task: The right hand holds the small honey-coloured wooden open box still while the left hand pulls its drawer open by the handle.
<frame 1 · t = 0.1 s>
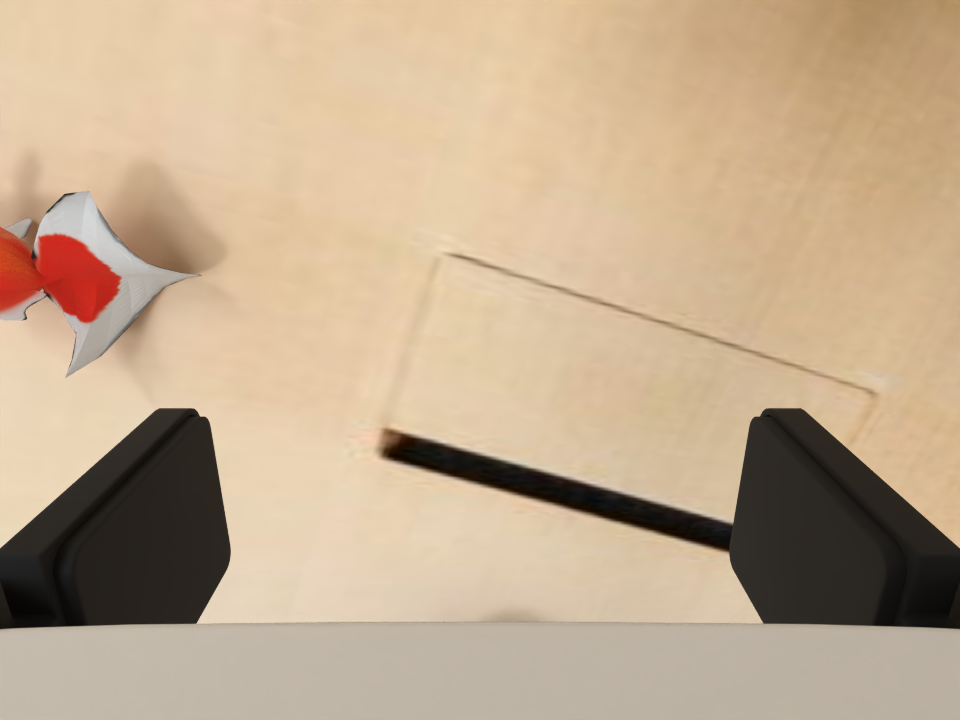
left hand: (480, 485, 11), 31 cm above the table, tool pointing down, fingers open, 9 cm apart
fish: (92, 252, 41), on the table
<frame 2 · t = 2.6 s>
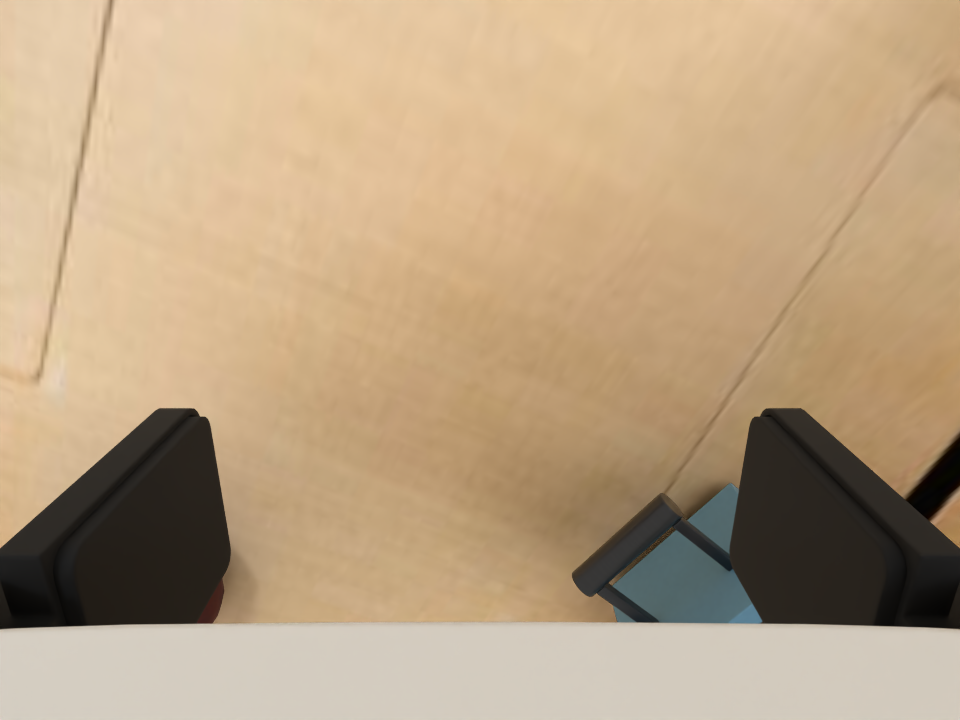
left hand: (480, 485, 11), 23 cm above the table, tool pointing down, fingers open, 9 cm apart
drawer: (751, 631, 35), point 5 cm above the table, slide at 1.1 cm
dark red ball: (180, 556, 39), on the table
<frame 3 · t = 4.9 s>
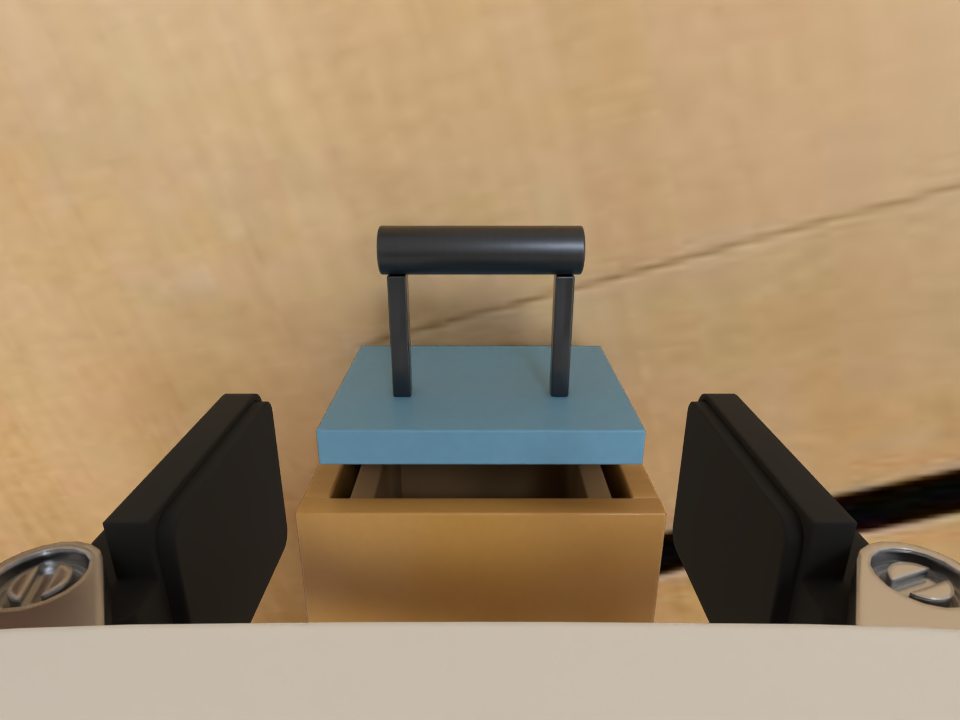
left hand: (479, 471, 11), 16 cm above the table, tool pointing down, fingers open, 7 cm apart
wooden open box: (480, 550, 31), on the table, touching right hand
drawer: (480, 505, 24), point 5 cm above the table, slide at 1.1 cm
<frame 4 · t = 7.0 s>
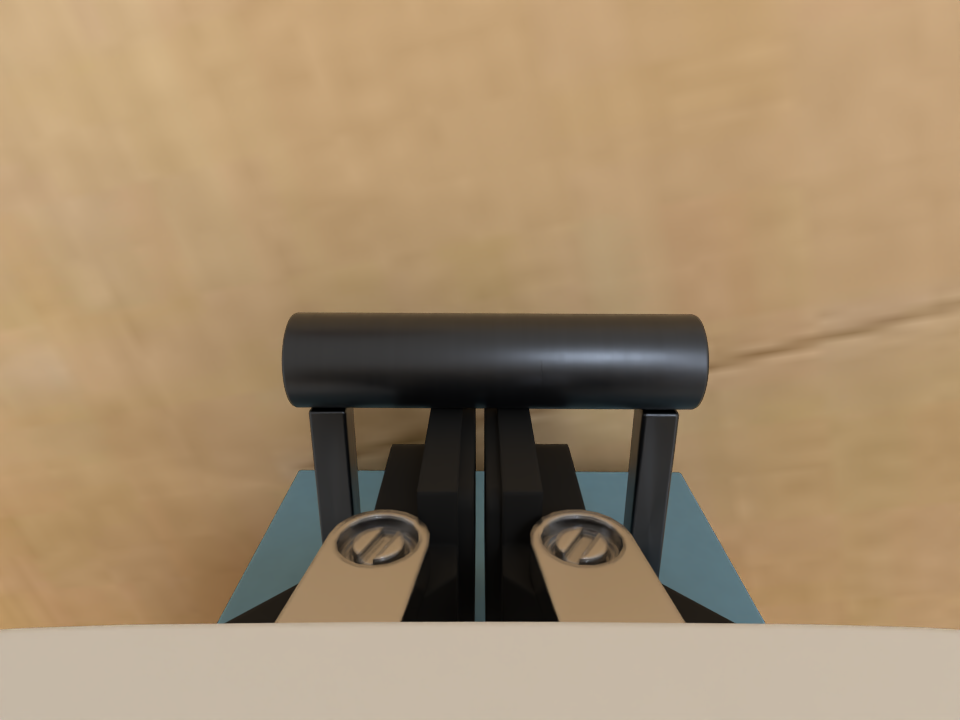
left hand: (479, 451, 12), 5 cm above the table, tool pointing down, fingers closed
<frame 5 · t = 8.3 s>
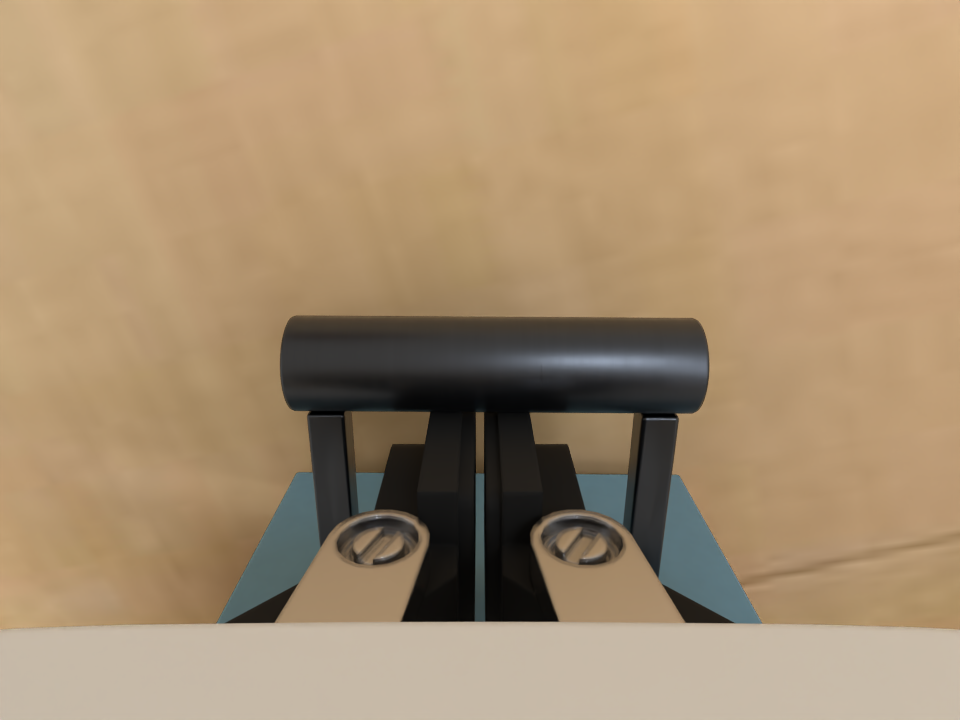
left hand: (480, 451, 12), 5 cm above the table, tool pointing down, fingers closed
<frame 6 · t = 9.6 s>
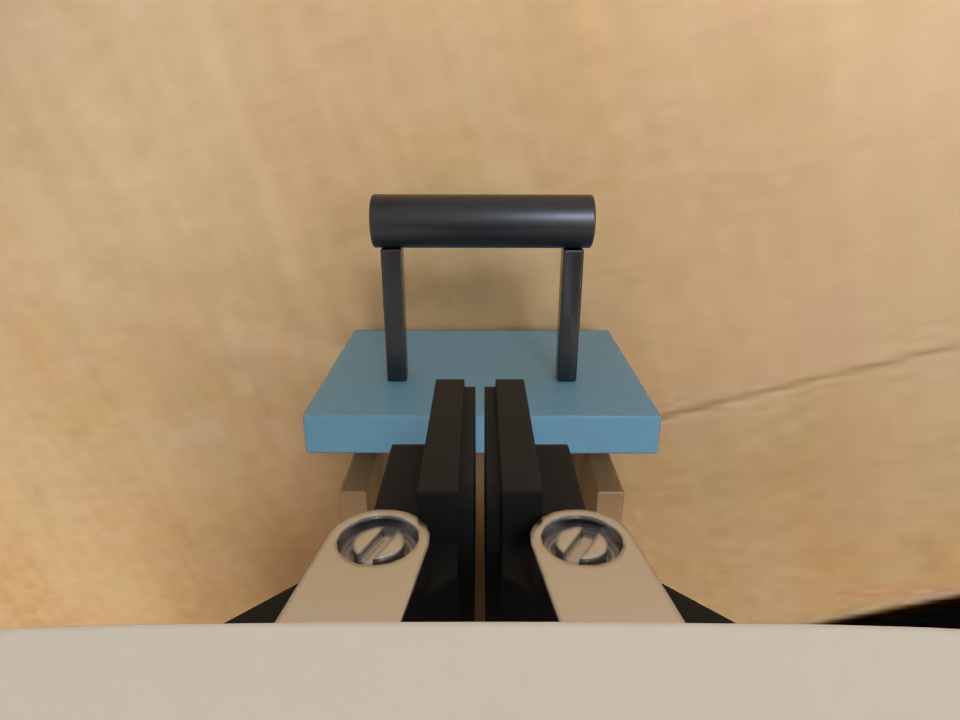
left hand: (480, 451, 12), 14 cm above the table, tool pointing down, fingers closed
drawer: (481, 499, 23), point 5 cm above the table, slide at 8.5 cm
when the right hand's fingers open (5 cm above the table, at t = 10.2 s): wooden open box stays where it is, on the table.
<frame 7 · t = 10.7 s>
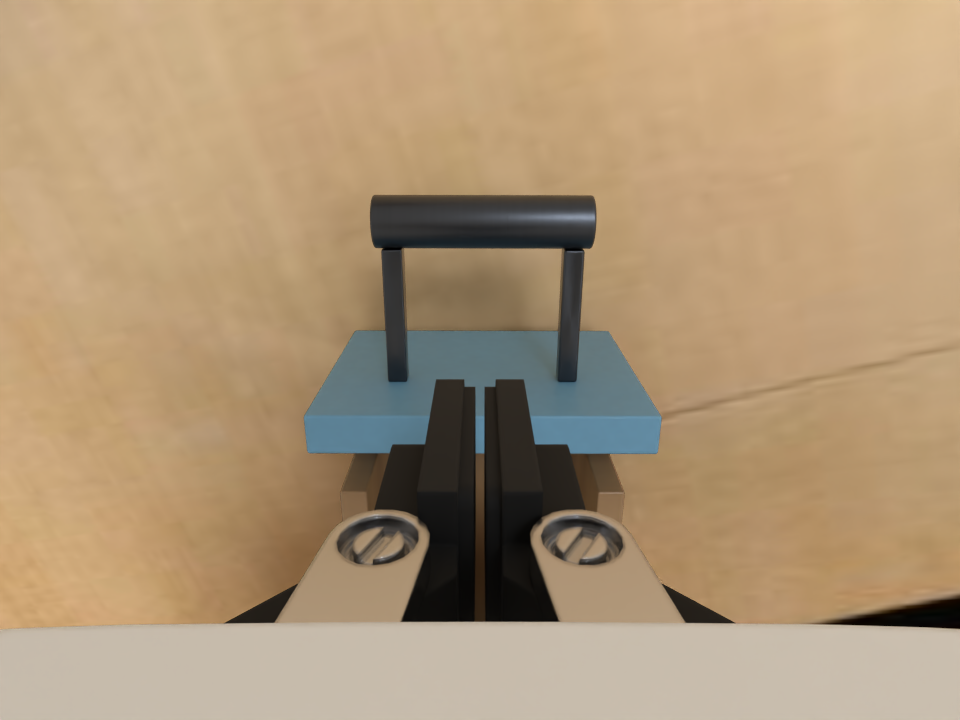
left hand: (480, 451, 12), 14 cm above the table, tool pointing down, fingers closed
drawer: (481, 500, 23), point 5 cm above the table, slide at 8.5 cm
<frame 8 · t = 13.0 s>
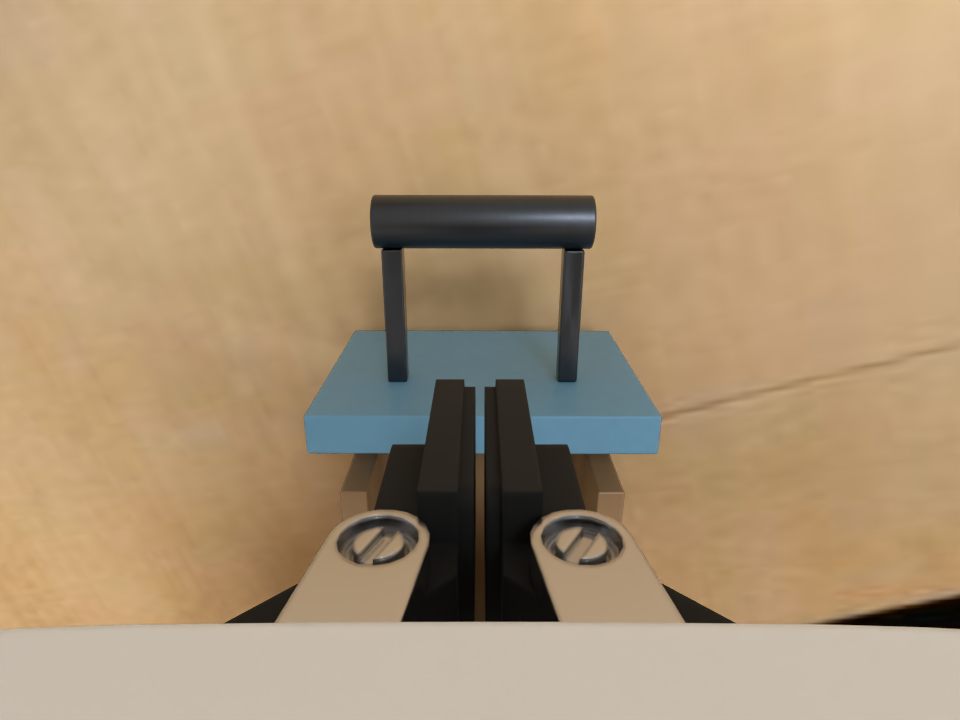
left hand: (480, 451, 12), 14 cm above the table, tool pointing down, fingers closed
drawer: (481, 500, 23), point 5 cm above the table, slide at 8.5 cm
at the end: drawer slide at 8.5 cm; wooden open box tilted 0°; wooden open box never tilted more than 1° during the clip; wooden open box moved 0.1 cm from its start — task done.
